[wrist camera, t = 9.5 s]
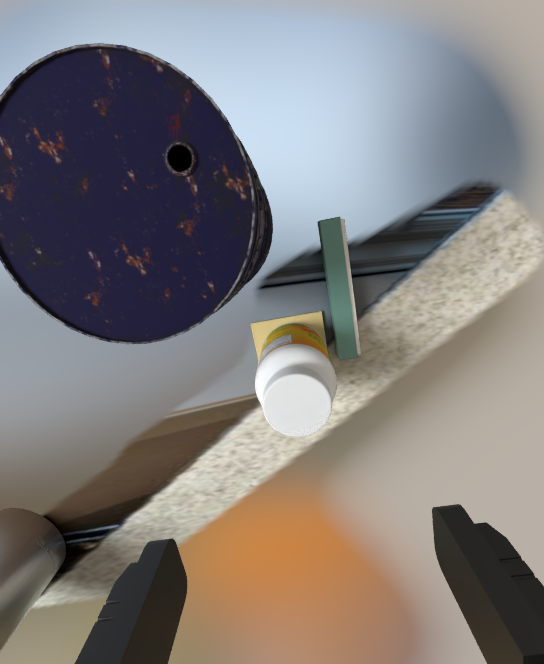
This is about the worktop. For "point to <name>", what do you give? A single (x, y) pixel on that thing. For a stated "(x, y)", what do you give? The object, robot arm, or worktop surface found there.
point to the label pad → (265, 327)
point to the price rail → (339, 287)
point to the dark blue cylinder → (125, 195)
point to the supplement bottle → (295, 380)
